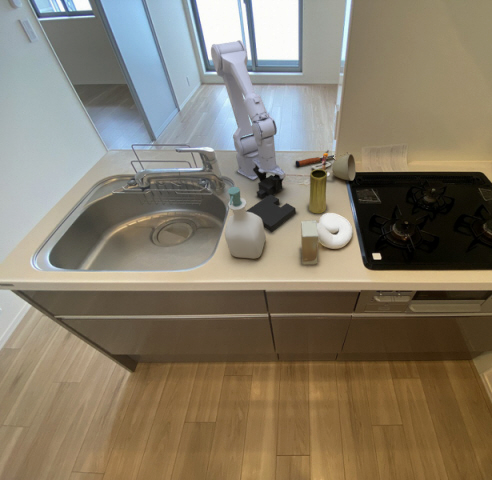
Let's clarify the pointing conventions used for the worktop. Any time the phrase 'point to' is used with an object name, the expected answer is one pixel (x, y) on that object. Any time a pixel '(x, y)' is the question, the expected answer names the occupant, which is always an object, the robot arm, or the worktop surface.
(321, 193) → the vase
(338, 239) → the sculpture
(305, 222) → the cosmetic box
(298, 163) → the knife
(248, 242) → the soap bottle
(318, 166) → the soap
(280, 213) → the base pad
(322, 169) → the action figure
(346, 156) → the cup
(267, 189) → the black block with stub
